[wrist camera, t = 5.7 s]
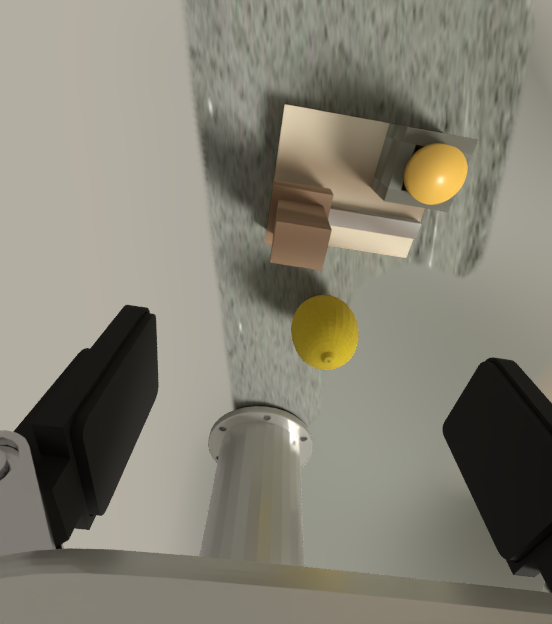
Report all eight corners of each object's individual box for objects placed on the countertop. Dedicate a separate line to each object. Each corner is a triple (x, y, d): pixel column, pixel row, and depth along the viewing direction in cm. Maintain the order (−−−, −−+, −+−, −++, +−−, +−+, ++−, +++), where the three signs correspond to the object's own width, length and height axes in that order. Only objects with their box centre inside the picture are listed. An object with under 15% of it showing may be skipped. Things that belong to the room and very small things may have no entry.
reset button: (424, 190, 25) (453, 208, 20) (380, 183, 24) (400, 199, 20) (442, 141, 23) (477, 150, 19) (395, 133, 23) (421, 140, 19)
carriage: (317, 239, 27) (327, 284, 20) (266, 231, 26) (259, 273, 20) (328, 186, 25) (344, 216, 18) (274, 177, 24) (269, 204, 18)
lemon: (279, 301, 32) (276, 355, 25) (329, 268, 30) (341, 317, 23) (312, 340, 34) (318, 399, 27) (361, 311, 32) (381, 367, 25)
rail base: (400, 251, 29) (422, 279, 24) (266, 229, 28) (262, 254, 24) (444, 133, 24) (481, 140, 20) (284, 104, 24) (284, 104, 19)
